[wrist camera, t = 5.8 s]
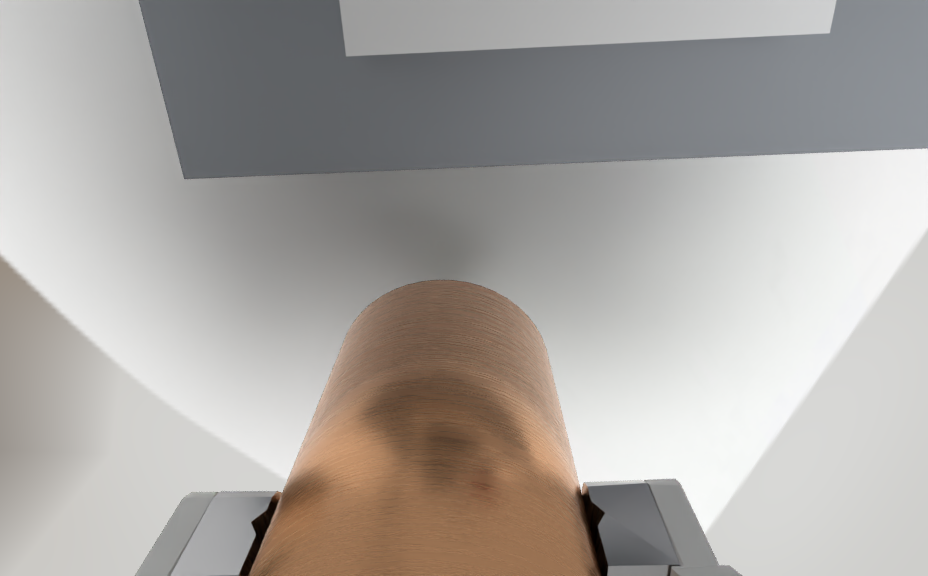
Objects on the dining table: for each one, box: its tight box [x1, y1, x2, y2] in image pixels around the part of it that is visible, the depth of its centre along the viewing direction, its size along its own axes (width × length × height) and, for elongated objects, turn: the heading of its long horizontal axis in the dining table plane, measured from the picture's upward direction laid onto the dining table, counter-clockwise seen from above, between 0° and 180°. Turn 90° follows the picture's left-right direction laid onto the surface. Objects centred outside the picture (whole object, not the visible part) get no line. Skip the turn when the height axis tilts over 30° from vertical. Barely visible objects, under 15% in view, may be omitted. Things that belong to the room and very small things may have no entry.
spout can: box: [249, 280, 601, 576], centre depth 9 cm, size 7×5×9 cm
